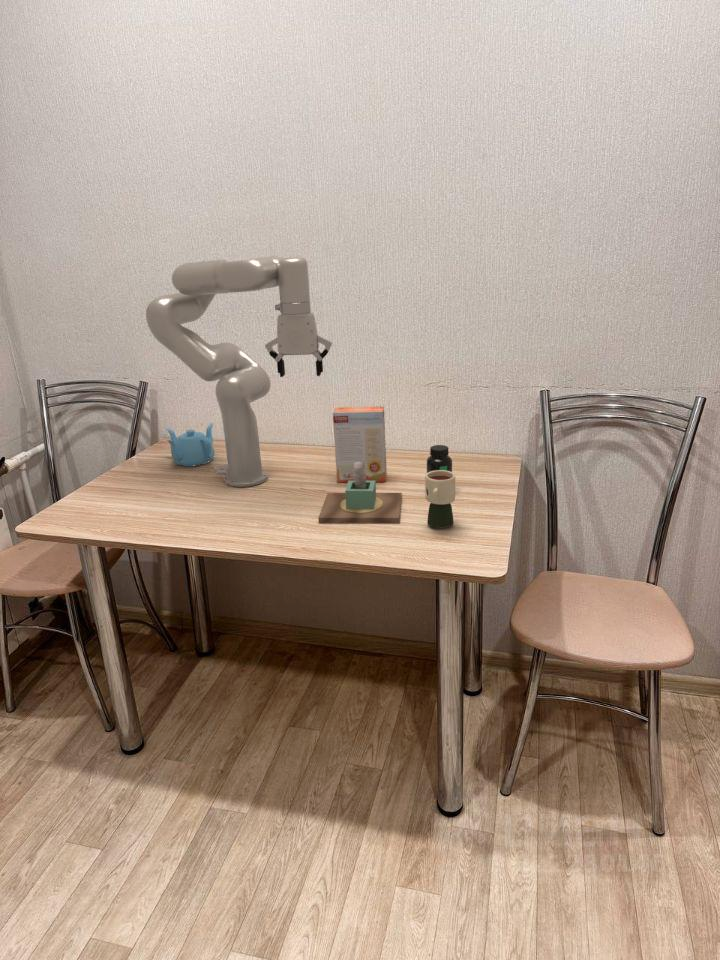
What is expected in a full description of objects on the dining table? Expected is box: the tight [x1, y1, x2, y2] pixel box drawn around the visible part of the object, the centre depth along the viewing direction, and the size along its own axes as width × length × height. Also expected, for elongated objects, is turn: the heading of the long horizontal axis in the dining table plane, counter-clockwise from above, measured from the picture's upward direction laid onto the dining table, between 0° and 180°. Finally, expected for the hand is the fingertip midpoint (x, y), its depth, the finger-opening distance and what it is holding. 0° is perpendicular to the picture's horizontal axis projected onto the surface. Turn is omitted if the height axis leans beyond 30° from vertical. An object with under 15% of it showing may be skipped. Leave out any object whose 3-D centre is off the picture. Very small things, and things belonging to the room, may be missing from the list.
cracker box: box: [332, 405, 388, 483], centre depth 195 cm, size 14×6×21 cm, turn 84°
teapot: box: [165, 422, 216, 467], centre depth 218 cm, size 15×15×10 cm
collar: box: [344, 481, 377, 509], centre depth 176 cm, size 7×7×5 cm
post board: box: [318, 461, 403, 524], centre depth 176 cm, size 20×16×13 cm
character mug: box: [424, 470, 456, 529], centre depth 165 cm, size 11×7×13 cm, turn 159°
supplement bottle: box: [426, 444, 453, 473], centre depth 187 cm, size 7×7×12 cm
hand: (300, 375), depth 181 cm, fingers open, 9 cm apart
